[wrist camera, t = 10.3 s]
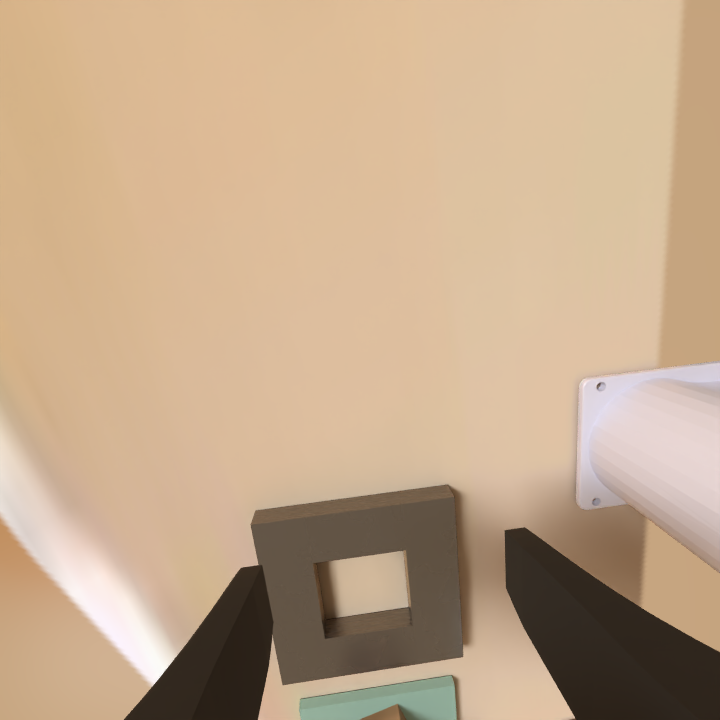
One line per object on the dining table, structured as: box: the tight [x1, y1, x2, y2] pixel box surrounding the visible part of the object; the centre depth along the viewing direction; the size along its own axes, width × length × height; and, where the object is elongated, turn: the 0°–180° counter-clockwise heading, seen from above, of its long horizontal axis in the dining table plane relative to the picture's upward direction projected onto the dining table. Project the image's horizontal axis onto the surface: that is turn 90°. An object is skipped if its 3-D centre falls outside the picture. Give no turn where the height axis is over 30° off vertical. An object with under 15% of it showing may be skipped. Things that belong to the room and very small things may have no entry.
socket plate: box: [251, 485, 463, 685], centre depth 21 cm, size 11×11×1 cm
